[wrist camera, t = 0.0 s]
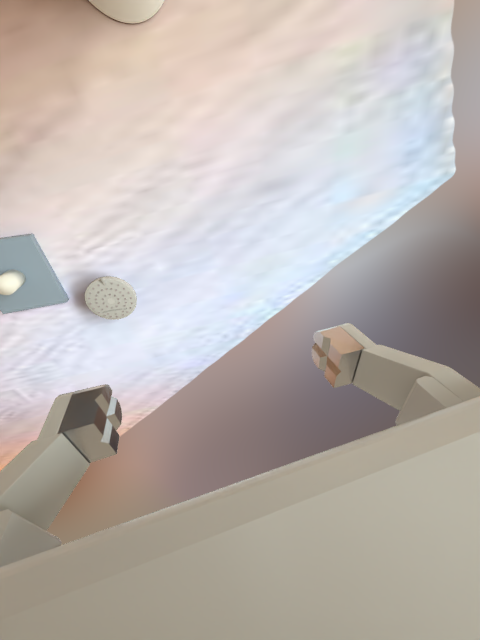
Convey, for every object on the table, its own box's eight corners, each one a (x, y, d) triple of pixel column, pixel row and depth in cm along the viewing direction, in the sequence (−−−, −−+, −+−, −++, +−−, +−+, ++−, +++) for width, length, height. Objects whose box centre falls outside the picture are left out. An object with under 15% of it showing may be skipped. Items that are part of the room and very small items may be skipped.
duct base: (-43, 243, 42) (-69, 254, 37) (32, 233, 44) (17, 242, 40) (7, 310, 50) (-10, 326, 45) (69, 298, 52) (60, 312, 48)
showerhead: (127, 274, 46) (141, 317, 52) (131, 262, 52) (142, 302, 57) (73, 281, 44) (93, 325, 50) (83, 267, 50) (100, 308, 55)
